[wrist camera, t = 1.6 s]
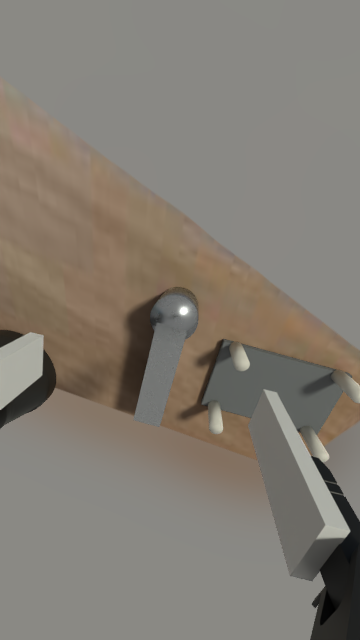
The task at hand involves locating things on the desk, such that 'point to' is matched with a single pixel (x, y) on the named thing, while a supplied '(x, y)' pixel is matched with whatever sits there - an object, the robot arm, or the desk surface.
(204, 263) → the desk surface
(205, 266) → the desk surface
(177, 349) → the grey ball-ended handle
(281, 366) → the pad
